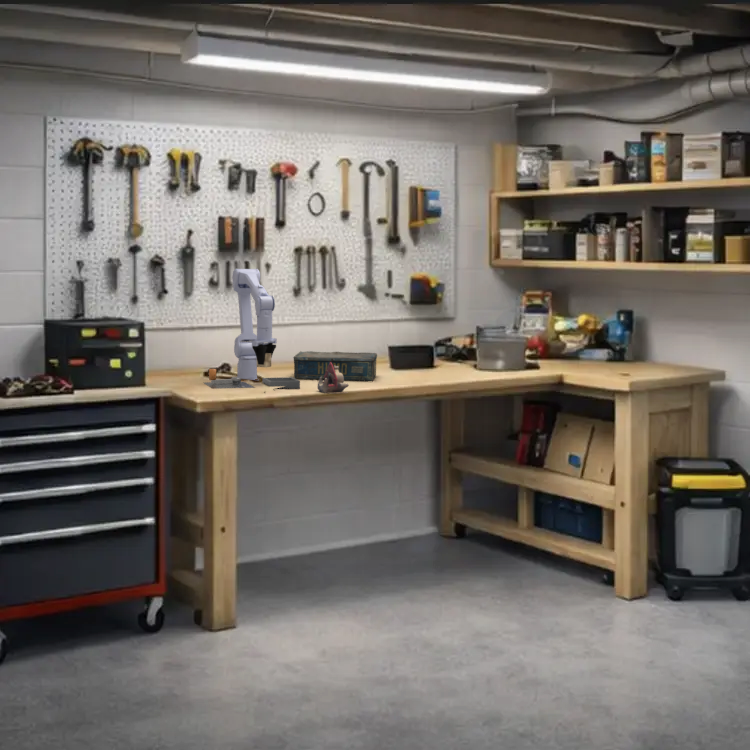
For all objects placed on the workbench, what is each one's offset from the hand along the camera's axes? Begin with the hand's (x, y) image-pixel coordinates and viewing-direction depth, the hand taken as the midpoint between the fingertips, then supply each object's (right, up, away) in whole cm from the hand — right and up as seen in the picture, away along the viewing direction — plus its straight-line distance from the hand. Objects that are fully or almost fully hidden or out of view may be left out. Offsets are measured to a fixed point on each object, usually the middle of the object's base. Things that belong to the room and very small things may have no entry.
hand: (264, 363), depth 445 cm
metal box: (+26, -6, +37) cm, 45 cm away
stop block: (0, -1, 0) cm, 1 cm away
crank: (-15, -7, +2) cm, 17 cm away
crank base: (-13, -9, -3) cm, 16 cm away
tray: (+6, -9, +3) cm, 11 cm away
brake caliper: (+26, -11, -6) cm, 28 cm away
